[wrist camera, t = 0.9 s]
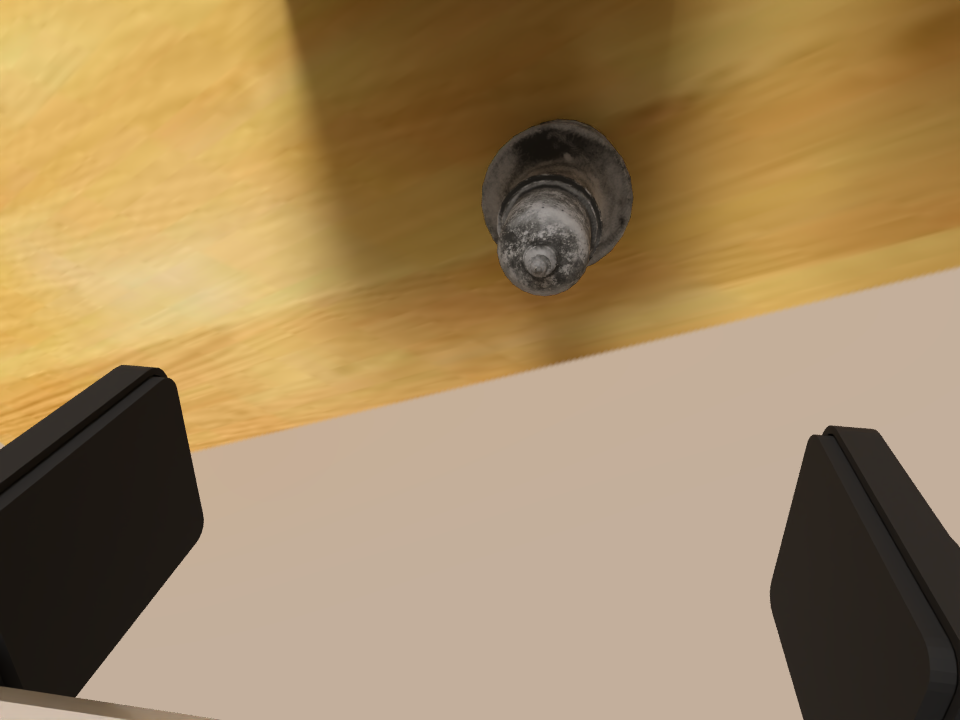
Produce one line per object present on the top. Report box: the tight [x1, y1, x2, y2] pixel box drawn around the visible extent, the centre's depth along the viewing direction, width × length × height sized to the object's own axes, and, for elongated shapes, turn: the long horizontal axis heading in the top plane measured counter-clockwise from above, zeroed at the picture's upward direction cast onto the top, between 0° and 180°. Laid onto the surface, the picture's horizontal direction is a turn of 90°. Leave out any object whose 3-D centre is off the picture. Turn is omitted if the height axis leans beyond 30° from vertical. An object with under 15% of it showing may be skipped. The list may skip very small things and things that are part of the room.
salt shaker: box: [482, 119, 633, 296], centre depth 25 cm, size 6×6×12 cm
